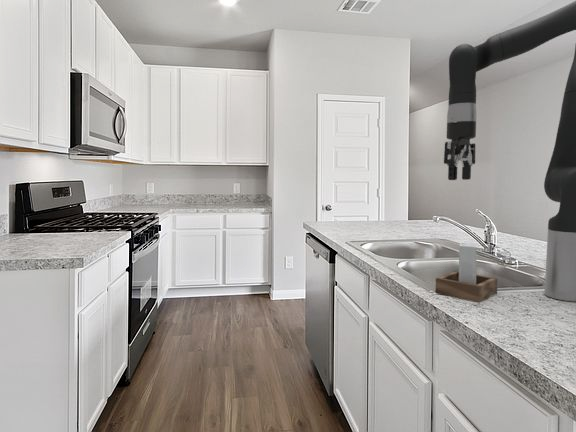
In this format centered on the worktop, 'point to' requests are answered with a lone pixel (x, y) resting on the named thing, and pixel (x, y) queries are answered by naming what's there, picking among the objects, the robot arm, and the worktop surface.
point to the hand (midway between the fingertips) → (459, 179)
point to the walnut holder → (466, 287)
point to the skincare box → (467, 263)
